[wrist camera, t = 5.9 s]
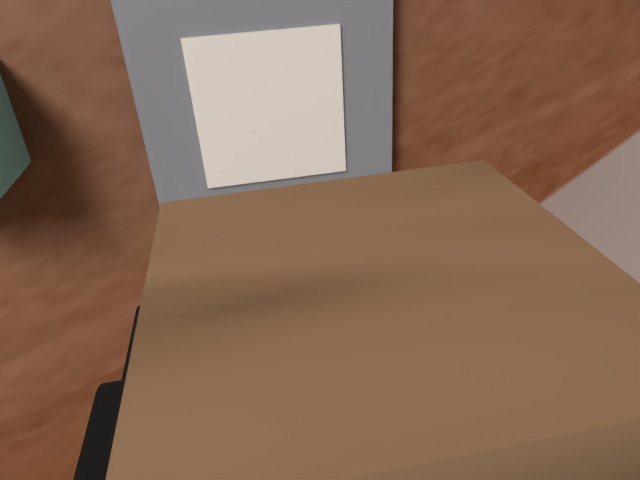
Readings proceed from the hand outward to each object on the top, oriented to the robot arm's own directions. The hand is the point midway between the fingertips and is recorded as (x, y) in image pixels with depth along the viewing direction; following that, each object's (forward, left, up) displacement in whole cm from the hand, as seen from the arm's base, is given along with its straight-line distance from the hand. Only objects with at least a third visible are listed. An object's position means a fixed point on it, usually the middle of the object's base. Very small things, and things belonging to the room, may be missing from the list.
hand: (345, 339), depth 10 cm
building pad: (0, 0, -18) cm, 18 cm away
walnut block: (0, 0, -1) cm, 1 cm away
